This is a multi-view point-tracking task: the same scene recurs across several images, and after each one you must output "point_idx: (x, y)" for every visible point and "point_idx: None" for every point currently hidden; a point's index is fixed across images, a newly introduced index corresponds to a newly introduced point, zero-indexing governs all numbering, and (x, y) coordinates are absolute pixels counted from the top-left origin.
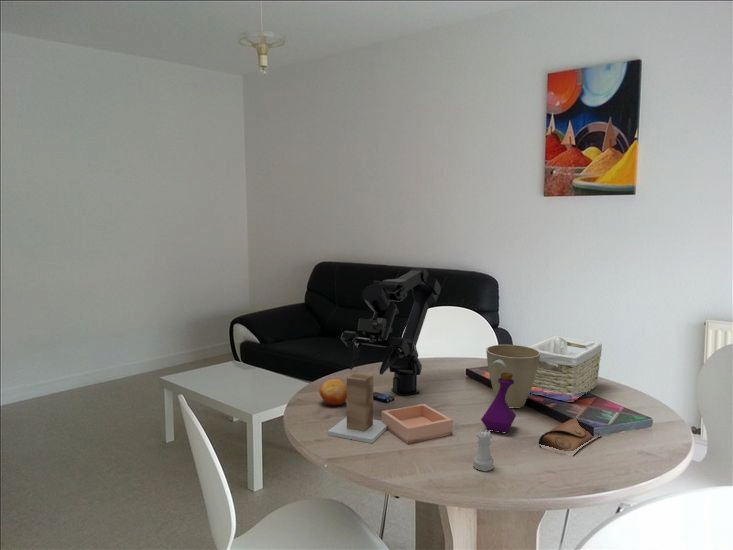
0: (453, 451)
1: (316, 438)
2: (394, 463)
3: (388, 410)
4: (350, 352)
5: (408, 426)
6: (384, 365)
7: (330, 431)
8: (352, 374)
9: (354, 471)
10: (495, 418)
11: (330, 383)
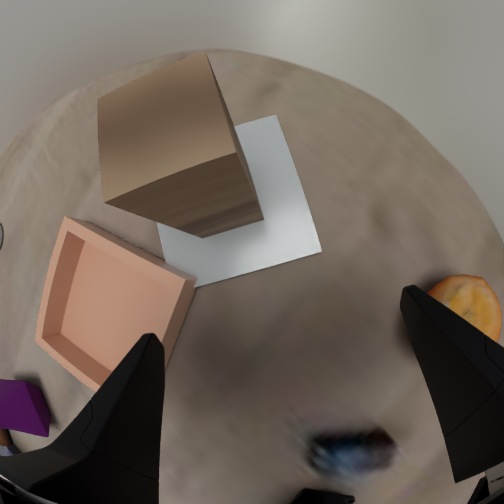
0: (29, 258)
1: (282, 92)
2: (78, 136)
3: (172, 301)
4: (496, 359)
5: (68, 229)
6: (110, 375)
7: (267, 117)
8: (221, 109)
9: (121, 69)
10: (8, 384)
11: (481, 315)
